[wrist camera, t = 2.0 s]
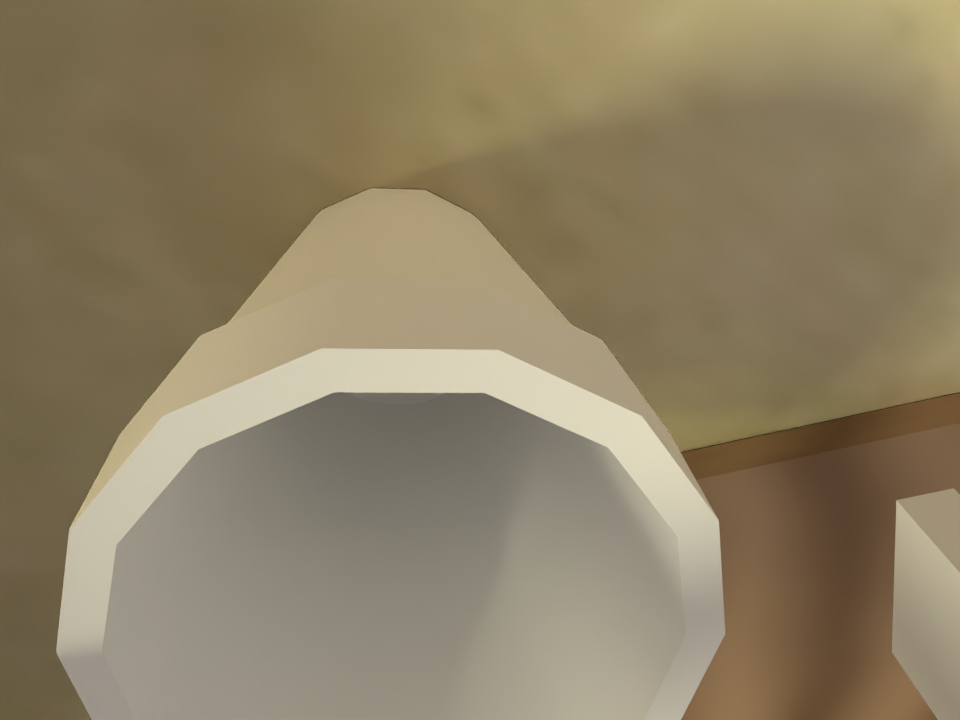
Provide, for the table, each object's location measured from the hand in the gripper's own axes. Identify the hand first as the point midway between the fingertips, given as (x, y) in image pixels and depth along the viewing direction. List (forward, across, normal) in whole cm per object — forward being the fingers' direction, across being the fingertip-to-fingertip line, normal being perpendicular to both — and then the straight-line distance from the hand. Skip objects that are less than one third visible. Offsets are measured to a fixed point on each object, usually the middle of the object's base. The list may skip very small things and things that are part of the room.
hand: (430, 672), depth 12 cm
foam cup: (+14, 0, 0) cm, 14 cm away
